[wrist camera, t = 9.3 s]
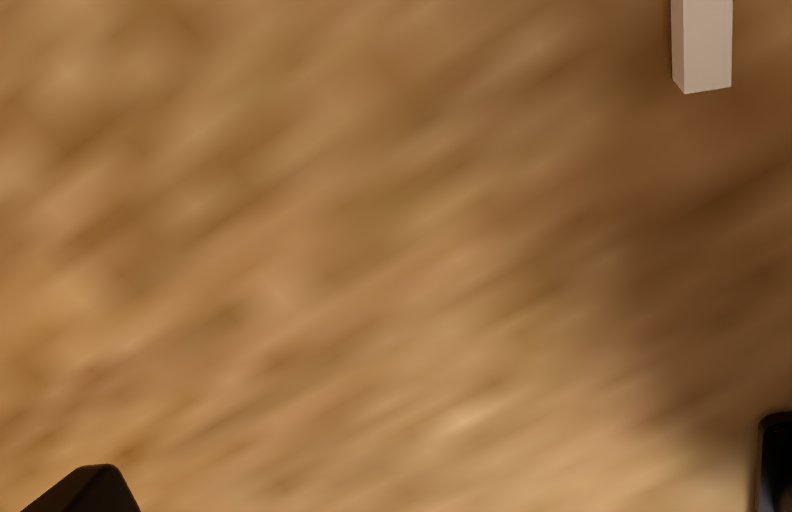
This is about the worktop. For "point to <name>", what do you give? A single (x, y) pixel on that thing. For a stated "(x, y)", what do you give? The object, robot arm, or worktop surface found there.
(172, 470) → the worktop surface
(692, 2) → the trap lane
